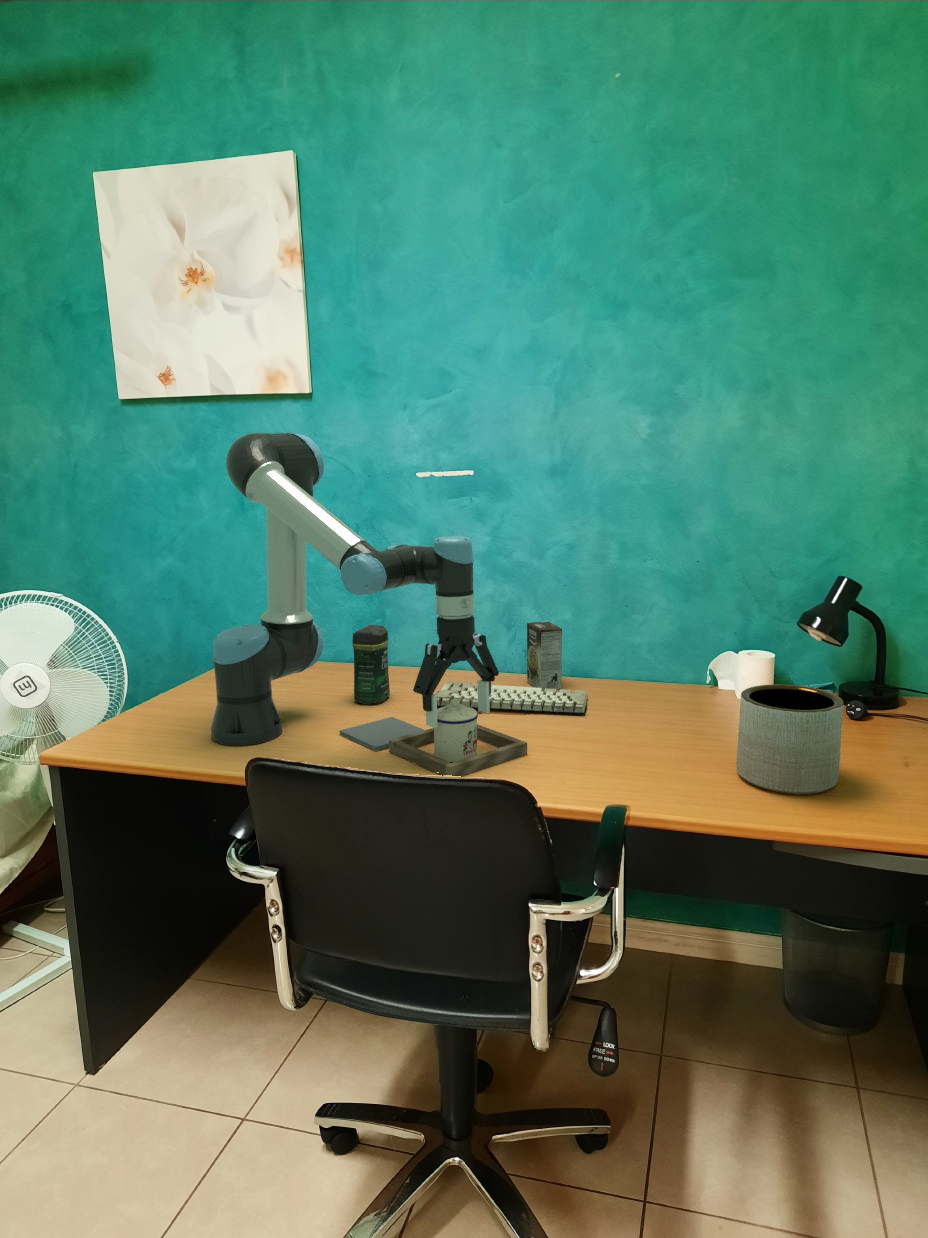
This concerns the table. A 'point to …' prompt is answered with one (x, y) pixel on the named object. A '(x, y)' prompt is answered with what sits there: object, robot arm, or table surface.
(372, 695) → the coffee jar
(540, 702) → the mechanical keyboard
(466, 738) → the teacup with lid
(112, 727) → the table surface
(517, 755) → the frame
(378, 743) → the mat
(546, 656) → the coffee box
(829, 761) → the planter
